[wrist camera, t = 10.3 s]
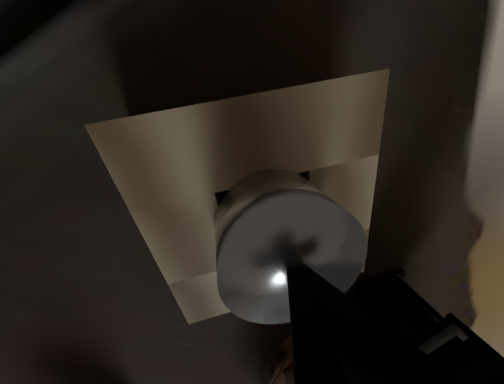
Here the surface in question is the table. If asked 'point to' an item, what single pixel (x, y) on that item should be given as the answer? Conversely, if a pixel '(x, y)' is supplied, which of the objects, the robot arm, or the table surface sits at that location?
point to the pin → (281, 242)
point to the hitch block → (239, 166)
